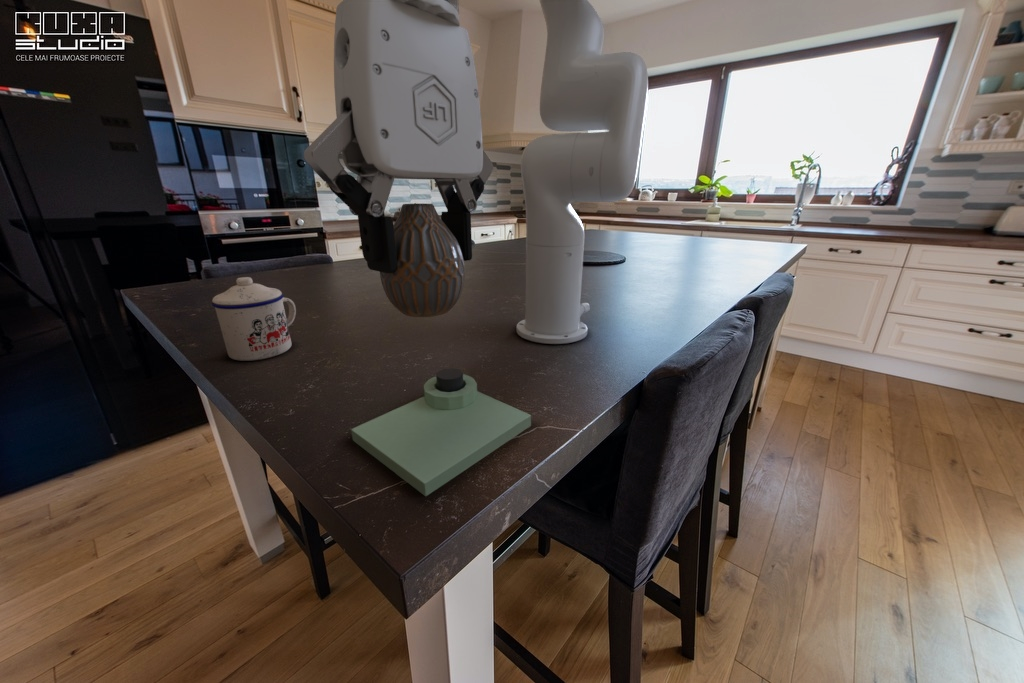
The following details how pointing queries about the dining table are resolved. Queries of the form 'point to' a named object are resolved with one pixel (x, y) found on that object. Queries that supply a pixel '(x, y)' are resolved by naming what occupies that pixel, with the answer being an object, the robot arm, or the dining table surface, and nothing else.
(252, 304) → the teacup with lid
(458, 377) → the button
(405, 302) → the vase
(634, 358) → the dining table surface
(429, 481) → the scale
